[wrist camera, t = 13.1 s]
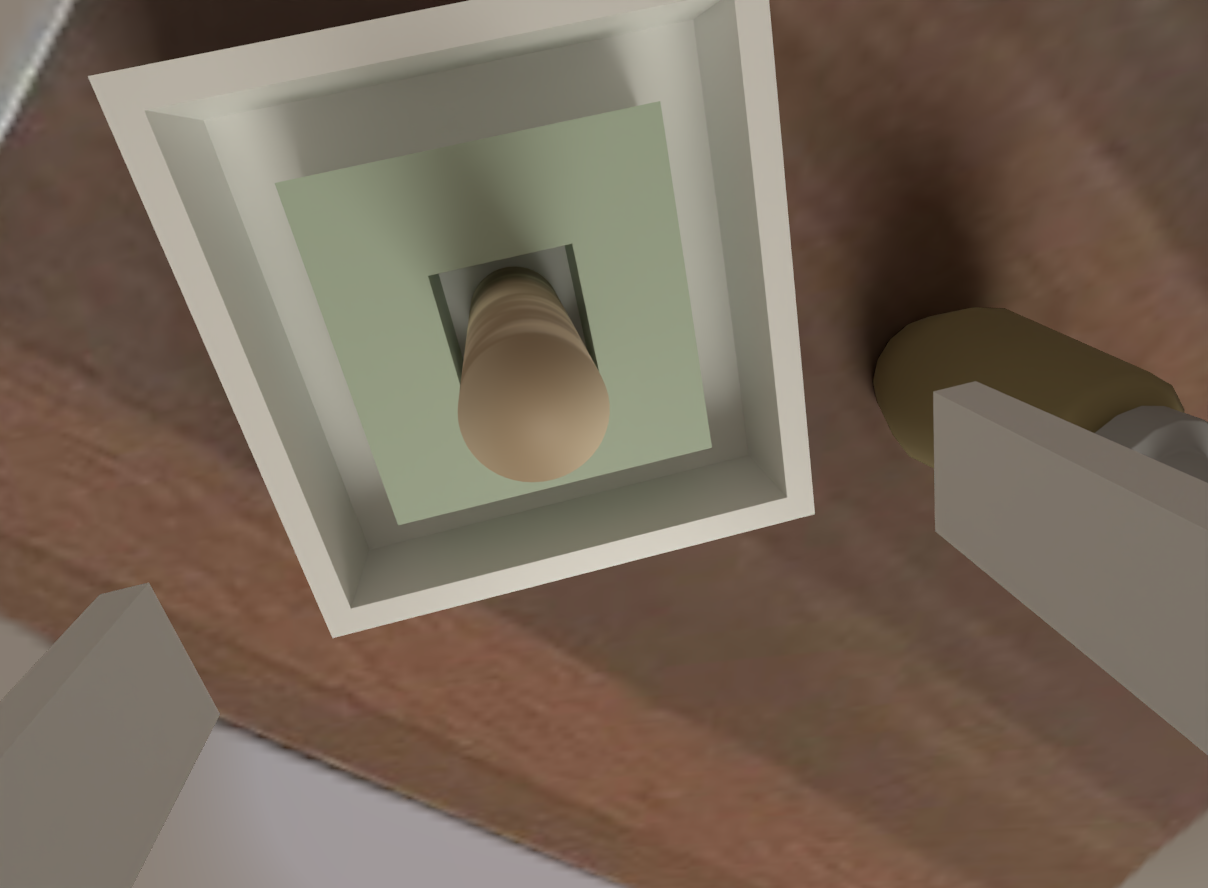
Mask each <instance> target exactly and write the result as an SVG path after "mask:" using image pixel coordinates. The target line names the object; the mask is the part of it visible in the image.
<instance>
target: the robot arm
mask: <svg viewBox="0 0 1208 888" xmlns="http://www.w3.org/2000/svg"><path fill="white" fill-rule="evenodd" d="M933 416H934V485H935V531H936V532H937V533H938V534H939V535H940V536H942V537H943V538H944V539H945V540H947V541H948V542H949V543H950V544H951V545H953V546H954V547H955V548H956V549H958V550H959V551H960V552H961V553H962V554H964V555H965V556H966V557H967V558H968V559H970V560H971V561H972V562H973V563H975V564H976V565H977V566H978V567H979V568H981V569H982V570H983V571H984V572H986V573H987V574H988V575H989V576H990V577H992V578H993V579H994V580H995V581H996V582H998V583H999V584H1000V585H1001V586H1003V587H1004V588H1005V589H1006V590H1007V591H1009V592H1010V593H1011V594H1012V595H1013V596H1015V597H1016V598H1017V599H1018V600H1020V601H1021V602H1022V603H1023V604H1024V605H1026V606H1027V607H1028V608H1029V609H1031V610H1032V611H1033V612H1034V613H1035V614H1037V615H1038V616H1039V617H1040V618H1041V619H1043V620H1044V621H1045V622H1046V623H1048V624H1049V625H1050V626H1051V627H1052V628H1054V629H1055V630H1056V631H1057V632H1059V633H1060V634H1061V635H1062V636H1063V637H1065V638H1066V639H1067V640H1068V641H1069V642H1071V643H1072V644H1073V645H1074V646H1076V647H1077V648H1078V649H1079V650H1080V651H1082V652H1083V653H1084V654H1085V655H1087V656H1088V657H1089V658H1090V659H1091V660H1093V661H1094V662H1095V663H1096V664H1097V665H1099V666H1100V667H1101V668H1102V669H1104V670H1105V671H1106V672H1107V673H1108V674H1110V675H1111V676H1112V677H1113V678H1114V679H1116V680H1117V681H1118V682H1119V683H1121V684H1122V685H1123V686H1124V687H1125V688H1127V689H1128V690H1129V691H1130V692H1132V693H1133V694H1134V695H1135V696H1136V697H1138V698H1139V699H1140V700H1141V701H1142V702H1144V703H1145V704H1146V705H1147V706H1149V707H1150V708H1151V709H1152V710H1153V711H1155V712H1156V713H1157V714H1158V715H1160V716H1161V717H1162V718H1163V719H1164V720H1166V721H1167V722H1168V723H1169V724H1170V725H1172V726H1173V727H1174V728H1175V729H1177V730H1178V731H1179V732H1180V733H1181V734H1183V735H1184V736H1185V737H1186V738H1188V739H1189V740H1190V741H1191V742H1192V743H1194V744H1195V745H1196V746H1197V747H1198V748H1200V749H1201V750H1202V751H1203V752H1205V753H1206V754H1207V755H1208V483H1207V482H1204V481H1202V480H1200V479H1198V478H1195V477H1193V476H1191V475H1188V474H1186V473H1184V472H1182V471H1179V470H1177V469H1175V468H1172V467H1170V466H1168V465H1166V464H1163V463H1161V462H1159V461H1157V460H1154V459H1152V458H1150V457H1147V456H1145V455H1143V454H1141V453H1138V452H1136V451H1134V450H1131V449H1129V448H1127V447H1125V446H1122V445H1120V444H1118V443H1116V442H1113V441H1111V440H1109V439H1106V438H1104V437H1102V436H1100V435H1097V434H1095V433H1093V432H1090V431H1088V430H1086V429H1084V428H1081V427H1079V426H1077V425H1075V424H1072V423H1070V422H1068V421H1065V420H1063V419H1061V418H1059V417H1056V416H1054V415H1052V414H1050V413H1047V412H1045V411H1043V410H1040V409H1038V408H1036V407H1034V406H1031V405H1029V404H1027V403H1024V402H1022V401H1020V400H1018V399H1015V398H1013V397H1011V396H1009V395H1006V394H1004V393H1002V392H999V391H997V390H995V389H993V388H990V387H988V386H986V385H983V384H981V383H979V382H977V381H974V382H970V383H966V384H962V385H958V386H954V387H950V388H946V389H941V390H937V391H933ZM219 715H220V713H219V712H218V710H217V708H216V706H215V704H214V702H213V700H212V699H211V697H210V695H209V693H208V691H207V689H206V687H205V686H204V684H203V682H202V680H201V678H200V676H199V674H198V673H197V671H196V669H195V667H194V665H193V663H192V662H191V660H190V658H189V656H188V654H187V652H186V650H185V649H184V647H183V645H182V643H181V641H180V639H179V637H178V636H177V634H176V632H175V630H174V628H173V626H172V624H171V623H170V621H169V619H168V617H167V615H166V613H165V612H164V610H163V608H162V606H161V604H160V602H159V600H158V599H157V597H156V595H155V593H154V591H153V589H152V587H151V586H150V584H149V583H146V584H141V585H137V586H133V587H129V588H125V589H121V590H117V591H113V592H109V593H105V594H100V595H99V596H98V597H97V598H96V599H95V600H94V601H93V602H92V604H91V605H90V606H89V607H88V608H87V609H86V610H85V611H84V612H83V613H82V614H81V615H80V616H79V617H78V619H77V620H76V621H75V622H74V623H73V624H72V625H71V626H70V627H69V628H68V629H67V630H66V631H65V632H64V633H63V635H62V636H61V637H60V638H59V639H58V640H57V641H56V642H55V643H54V644H53V645H52V646H51V647H50V648H49V649H48V651H47V652H46V653H45V654H44V655H43V656H42V657H41V658H40V659H39V660H38V661H37V662H36V663H35V664H34V666H33V667H32V668H31V669H30V670H29V671H28V672H27V673H26V674H25V675H24V676H23V677H22V678H21V679H20V681H19V682H18V683H17V684H16V685H15V686H14V687H13V688H12V689H11V690H10V691H9V692H8V693H7V694H6V696H5V697H4V698H3V699H2V700H1V701H0V888H132V886H133V884H134V882H135V880H136V878H137V876H138V874H139V872H140V870H141V869H142V867H143V865H144V863H145V861H146V858H147V857H148V855H149V853H150V851H151V849H152V847H153V845H154V843H155V841H156V839H157V837H158V835H159V833H160V831H161V829H162V827H163V825H164V823H165V821H166V819H167V817H168V815H169V813H170V812H171V810H172V807H173V806H174V804H175V801H176V800H177V798H178V796H179V794H180V792H181V790H182V788H183V786H184V784H185V782H186V780H187V778H188V776H189V774H190V772H191V770H192V768H193V766H194V764H195V762H196V760H197V758H198V756H199V755H200V752H201V750H202V748H203V747H204V745H205V743H206V741H207V739H208V737H209V735H210V733H211V731H212V729H213V727H214V725H215V723H216V721H217V719H218V717H219Z"/></svg>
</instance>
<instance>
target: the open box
mask: <svg viewBox="0 0 1208 888" xmlns="http://www.w3.org/2000/svg"><path fill="white" fill-rule="evenodd" d="M88 78H89V80H90V83H91V85H92V87H93V89H94V92H95V94H96V96H97V99H98V101H99V103H100V106H101V108H102V110H103V112H104V115H105V117H106V119H107V122H108V124H109V126H110V128H111V131H112V133H113V135H114V138H115V140H116V142H117V145H118V147H119V149H120V151H121V154H122V156H123V158H124V161H125V163H126V165H127V167H128V170H129V172H130V174H131V177H132V179H133V181H134V184H135V186H136V188H137V190H138V193H139V195H140V197H141V200H142V202H143V204H144V206H145V209H146V211H147V213H148V216H149V218H150V220H151V223H152V225H153V227H154V229H155V232H156V234H157V236H158V239H159V241H160V243H161V245H162V248H163V250H164V252H165V255H166V257H167V259H168V262H169V264H170V266H171V268H172V271H173V273H174V275H175V278H176V280H177V282H178V284H179V287H180V289H181V291H182V294H183V296H184V298H185V301H186V303H187V305H188V307H189V310H190V312H191V314H192V317H193V319H194V321H195V323H196V326H197V328H198V330H199V333H200V335H201V337H202V340H203V342H204V344H205V346H206V349H207V351H208V353H209V356H210V358H211V360H212V362H213V365H214V367H215V369H216V372H217V374H218V376H219V379H220V381H221V383H222V385H223V388H224V390H225V392H226V395H227V397H228V399H229V401H230V404H231V406H232V408H233V411H234V413H235V415H236V418H237V420H238V422H239V424H240V427H241V429H242V431H243V434H244V436H245V438H246V440H247V443H248V445H249V447H250V450H251V452H252V454H253V457H254V459H255V461H256V463H257V466H258V468H259V470H260V473H261V475H262V477H263V480H264V482H265V484H266V486H267V489H268V491H269V493H270V496H271V498H272V500H273V502H274V505H275V507H276V509H277V512H278V514H279V516H280V519H281V521H282V523H283V525H284V528H285V530H286V532H287V535H288V537H289V539H290V541H291V544H292V546H293V548H294V551H295V553H296V555H297V558H298V560H299V562H300V564H301V567H302V569H303V571H304V574H305V576H306V578H307V580H308V583H309V585H310V587H311V590H312V592H313V594H314V597H315V599H316V601H317V603H318V606H319V608H320V610H321V613H322V615H323V617H324V619H325V622H326V624H327V626H328V629H329V631H330V633H331V636H332V638H335V637H339V636H343V635H346V634H350V633H354V632H358V631H362V630H366V629H370V628H374V627H378V626H381V625H385V624H389V623H393V622H397V621H401V620H405V619H409V618H413V617H416V616H420V615H424V614H428V613H432V612H436V611H440V610H444V609H448V608H451V607H455V606H459V605H463V604H467V603H471V602H475V601H479V600H483V599H486V598H490V597H494V596H498V595H502V594H506V593H510V592H514V591H518V590H521V589H525V588H529V587H533V586H537V585H541V584H545V583H549V582H553V581H556V580H560V579H564V578H568V577H572V576H576V575H580V574H584V573H588V572H591V571H595V570H599V569H603V568H607V567H611V566H615V565H619V564H623V563H626V562H630V561H634V560H638V559H642V558H646V557H650V556H654V555H658V554H661V553H665V552H669V551H673V550H677V549H681V548H685V547H689V546H693V545H696V544H700V543H704V542H708V541H712V540H716V539H720V538H724V537H728V536H731V535H735V534H739V533H743V532H747V531H751V530H755V529H759V528H763V527H766V526H770V525H774V524H778V523H782V522H786V521H790V520H794V519H798V518H801V517H805V516H809V515H813V514H815V511H814V499H813V488H812V477H811V466H810V454H809V443H808V432H807V421H806V410H805V398H804V387H803V376H802V365H801V354H800V342H799V331H798V320H797V309H796V297H795V286H794V275H793V264H792V253H791V241H790V230H789V219H788V208H787V197H786V185H785V174H784V163H783V152H782V140H781V129H780V118H779V107H778V96H777V84H776V73H775V62H774V51H773V39H772V28H771V17H770V6H769V0H469V1H464V2H459V3H454V4H449V5H443V6H438V7H433V8H428V9H423V10H418V11H413V12H408V13H403V14H398V15H393V16H388V17H383V18H378V19H373V20H368V21H363V22H358V23H353V24H348V25H343V26H338V27H333V28H328V29H323V30H318V31H313V32H308V33H303V34H298V35H293V36H288V37H283V38H278V39H273V40H268V41H263V42H258V43H253V44H248V45H243V46H238V47H232V48H227V49H222V50H217V51H212V52H207V53H202V54H197V55H192V56H187V57H182V58H177V59H172V60H167V61H162V62H157V63H152V64H147V65H142V66H137V67H132V68H127V69H122V70H117V71H112V72H107V73H102V74H97V75H92V76H88ZM658 101H660V103H661V109H662V116H663V123H664V129H665V136H666V143H667V149H668V156H669V163H670V170H671V176H672V183H673V190H674V196H675V203H676V210H677V216H678V223H679V230H680V237H681V243H682V250H683V257H684V263H685V270H686V277H687V283H688V290H689V297H690V304H691V310H692V317H693V324H694V330H695V337H696V344H697V350H698V357H699V364H700V371H701V377H702V384H703V391H704V397H705V404H706V411H707V418H708V424H709V431H710V438H711V444H712V448H709V449H705V450H701V451H697V452H693V453H689V454H685V455H681V456H676V457H672V458H668V459H664V460H660V461H656V462H652V463H648V464H644V465H640V466H636V467H632V468H628V469H624V470H620V471H616V472H612V473H608V474H604V475H600V476H596V477H592V478H588V479H584V480H580V481H576V482H572V483H568V484H564V485H560V486H556V487H551V488H547V489H543V490H539V491H535V492H531V493H527V494H523V495H519V496H515V497H511V498H507V499H503V500H499V501H495V502H491V503H487V504H483V505H479V506H475V507H471V508H467V509H463V510H459V511H455V512H451V513H447V514H443V515H439V516H435V517H430V518H426V519H422V520H418V521H414V522H410V523H406V524H402V525H398V524H397V521H396V518H395V515H394V513H393V510H392V507H391V504H390V502H389V499H388V496H387V493H386V490H385V488H384V485H383V482H382V479H381V477H380V474H379V471H378V468H377V466H376V463H375V460H374V457H373V454H372V452H371V449H370V446H369V443H368V441H367V438H366V435H365V432H364V430H363V427H362V424H361V421H360V419H359V416H358V413H357V410H356V407H355V405H354V402H353V399H352V396H351V394H350V391H349V388H348V385H347V383H346V380H345V377H344V374H343V371H342V369H341V366H340V363H339V360H338V358H337V355H336V352H335V349H334V347H333V344H332V341H331V338H330V335H329V333H328V330H327V327H326V324H325V322H324V319H323V316H322V313H321V311H320V308H319V305H318V302H317V299H316V297H315V294H314V291H313V288H312V286H311V283H310V280H309V277H308V275H307V272H306V269H305V266H304V263H303V261H302V258H301V255H300V252H299V250H298V247H297V244H296V241H295V239H294V236H293V233H292V230H291V227H290V225H289V222H288V219H287V216H286V214H285V211H284V208H283V205H282V203H281V200H280V197H279V194H278V191H277V189H276V186H275V183H277V182H282V181H287V180H291V179H296V178H301V177H305V176H310V175H315V174H320V173H324V172H329V171H334V170H338V169H343V168H348V167H352V166H357V165H362V164H367V163H371V162H376V161H381V160H385V159H390V158H395V157H399V156H404V155H409V154H414V153H418V152H423V151H428V150H432V149H437V148H442V147H446V146H451V145H456V144H461V143H465V142H470V141H475V140H479V139H484V138H489V137H494V136H498V135H503V134H508V133H512V132H517V131H522V130H526V129H531V128H536V127H541V126H545V125H550V124H555V123H559V122H564V121H569V120H573V119H578V118H583V117H588V116H592V115H597V114H602V113H606V112H611V111H616V110H620V109H625V108H630V107H635V106H639V105H644V104H649V103H653V102H658ZM505 267H524V268H528V269H530V270H533V271H535V272H537V273H539V274H540V275H542V276H543V277H544V278H545V279H546V280H547V281H548V282H549V283H550V284H551V286H552V287H553V289H554V290H555V292H556V294H557V296H558V298H559V299H560V301H561V303H562V305H563V307H564V309H565V310H566V312H567V314H568V316H569V318H570V320H571V321H572V323H573V325H574V327H575V329H576V331H577V333H578V334H579V336H580V338H581V340H582V342H583V344H584V345H585V347H586V343H585V339H584V334H583V329H582V325H581V320H580V315H579V310H578V306H577V301H576V296H575V292H574V287H573V282H572V278H571V273H570V268H569V264H568V259H567V254H566V250H565V245H563V246H559V247H554V248H550V249H546V250H541V251H537V252H532V253H528V254H523V255H519V256H514V257H510V258H505V259H501V260H497V261H492V262H488V263H483V264H479V265H474V266H470V267H465V268H461V269H456V270H452V271H448V272H443V273H439V277H440V280H441V284H442V287H443V291H444V294H445V298H446V301H447V305H448V308H449V311H450V315H451V318H452V322H453V325H454V329H455V332H456V336H457V339H458V343H459V346H460V350H461V353H462V357H463V360H464V352H465V345H466V337H467V329H468V321H469V313H470V305H471V300H472V297H473V294H474V292H475V290H476V288H477V286H478V285H479V283H480V282H481V281H482V280H483V279H484V278H485V277H486V276H487V275H489V274H490V273H492V272H494V271H496V270H498V269H501V268H505ZM586 349H587V348H586Z"/></svg>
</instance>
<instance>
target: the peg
mask: <svg viewBox="0 0 1208 888" xmlns="http://www.w3.org/2000/svg"><path fill="white" fill-rule="evenodd" d="M609 415H610V403H609V396H608V392H607V389H606V386H605V383H604V381H603V379H602V377H601V375H600V373H599V371H598V369H597V367H596V366H595V364H594V362H593V360H592V358H591V356H590V355H589V353H588V351H587V349H586V347H585V345H584V344H583V342H582V340H581V338H580V336H579V334H578V333H577V331H576V329H575V327H574V325H573V323H572V321H571V320H570V318H569V316H568V314H567V312H566V310H565V309H564V307H563V305H562V303H561V301H560V299H559V298H558V296H557V294H556V292H555V290H554V289H553V287H552V286H551V284H550V283H549V282H548V281H547V280H546V279H545V278H544V277H543V276H542V275H540V274H539V273H537V272H535V271H533V270H530V269H528V268H524V267H505V268H501V269H498V270H496V271H494V272H492V273H490V274H489V275H487V276H486V277H485V278H484V279H483V280H482V281H481V282H480V283H479V285H478V286H477V288H476V290H475V292H474V294H473V297H472V300H471V305H470V313H469V321H468V329H467V337H466V345H465V352H464V360H463V368H462V376H461V384H460V392H459V400H458V423H459V427H460V431H461V434H462V437H463V439H464V441H465V443H466V445H467V447H468V449H469V450H470V451H471V453H472V454H473V455H474V456H475V458H476V459H477V460H478V461H479V462H480V463H482V464H483V465H484V466H485V467H487V468H488V469H489V470H491V471H493V472H494V473H496V474H498V475H501V476H503V477H505V478H508V479H512V480H516V481H521V482H544V481H549V480H553V479H557V478H560V477H562V476H565V475H567V474H569V473H571V472H573V471H574V470H576V469H578V468H579V467H580V466H582V465H583V464H584V463H585V462H586V461H587V460H588V459H589V458H590V457H591V456H592V455H593V454H594V453H595V451H596V450H597V449H598V447H599V445H600V444H601V442H602V440H603V438H604V435H605V433H606V430H607V426H608V423H609Z"/></svg>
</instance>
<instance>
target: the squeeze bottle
mask: <svg viewBox="0 0 1208 888" xmlns="http://www.w3.org/2000/svg"><path fill="white" fill-rule="evenodd" d="M974 381H977V382H979V383H981V384H983V385H986V386H988V387H990V388H993V389H995V390H997V391H999V392H1002V393H1004V394H1006V395H1009V396H1011V397H1013V398H1015V399H1018V400H1020V401H1022V402H1024V403H1027V404H1029V405H1031V406H1034V407H1036V408H1038V409H1040V410H1043V411H1045V412H1047V413H1050V414H1052V415H1054V416H1056V417H1059V418H1061V419H1063V420H1065V421H1068V422H1070V423H1072V424H1075V425H1077V426H1079V427H1081V428H1084V429H1086V430H1088V431H1090V432H1093V433H1095V434H1097V435H1100V436H1102V437H1104V438H1106V439H1109V440H1111V441H1113V442H1116V443H1118V444H1120V445H1122V446H1125V447H1127V448H1129V449H1131V450H1134V451H1136V452H1138V453H1141V454H1143V455H1145V456H1147V457H1150V458H1152V459H1154V460H1157V461H1159V462H1161V463H1163V464H1166V465H1168V466H1170V467H1172V468H1175V469H1177V470H1179V471H1182V472H1184V473H1186V474H1188V475H1191V476H1193V477H1195V478H1198V479H1200V480H1202V481H1204V482H1207V483H1208V422H1206V421H1205V420H1203V419H1200V418H1197V417H1194V416H1191V415H1189V414H1186V413H1184V408H1183V406H1182V404H1181V402H1180V400H1179V398H1178V396H1177V394H1176V392H1175V390H1174V388H1173V386H1172V385H1170V384H1169V383H1167V382H1165V381H1163V380H1162V379H1160V378H1158V377H1157V376H1155V375H1153V374H1152V373H1150V372H1148V371H1146V370H1143V369H1141V368H1139V367H1137V366H1134V365H1132V364H1130V363H1127V362H1125V361H1123V360H1121V359H1118V358H1116V357H1114V356H1112V355H1109V354H1107V353H1105V352H1102V351H1100V350H1098V349H1096V348H1093V347H1091V346H1089V345H1087V344H1084V343H1082V342H1080V341H1078V340H1075V339H1073V338H1071V337H1068V336H1066V335H1064V334H1062V333H1059V332H1057V331H1055V330H1053V329H1050V328H1048V327H1046V326H1043V325H1041V324H1039V323H1037V322H1034V321H1032V320H1030V319H1028V318H1025V317H1023V316H1021V315H1018V314H1016V313H1014V312H1012V311H1009V310H1007V309H1005V308H980V307H973V308H968V309H963V310H958V311H953V312H948V313H943V314H938V315H933V316H929V317H926V318H923V319H921V320H918V321H915V322H913V323H910V324H908V325H907V326H905V327H904V328H903V329H902V330H901V331H899V332H898V333H897V334H896V335H895V336H894V337H892V338H891V339H890V340H889V342H888V344H887V345H886V347H885V348H884V350H883V352H882V353H881V355H880V357H879V358H878V360H877V365H876V370H875V375H874V379H873V384H874V389H875V394H876V400H877V403H878V405H879V407H880V409H881V411H882V413H883V415H884V417H885V419H886V421H887V423H888V425H889V427H890V429H891V432H892V434H893V435H894V437H895V438H896V439H897V441H898V442H899V443H900V445H901V446H902V447H903V449H904V450H905V451H906V453H907V454H908V455H909V456H910V457H912V458H914V459H916V460H918V461H920V462H922V463H924V464H926V465H928V466H930V467H932V468H934V416H933V391H937V390H941V389H946V388H950V387H954V386H958V385H962V384H966V383H970V382H974Z"/></svg>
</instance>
